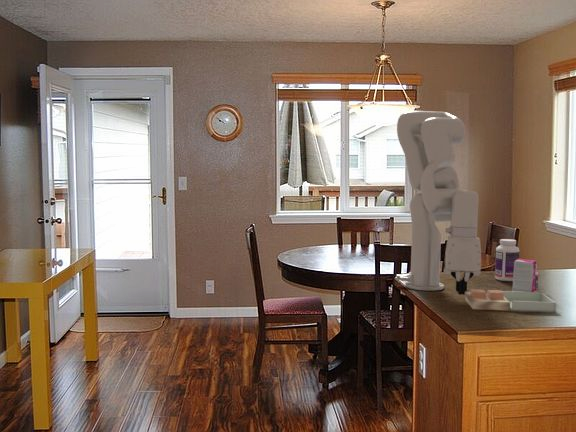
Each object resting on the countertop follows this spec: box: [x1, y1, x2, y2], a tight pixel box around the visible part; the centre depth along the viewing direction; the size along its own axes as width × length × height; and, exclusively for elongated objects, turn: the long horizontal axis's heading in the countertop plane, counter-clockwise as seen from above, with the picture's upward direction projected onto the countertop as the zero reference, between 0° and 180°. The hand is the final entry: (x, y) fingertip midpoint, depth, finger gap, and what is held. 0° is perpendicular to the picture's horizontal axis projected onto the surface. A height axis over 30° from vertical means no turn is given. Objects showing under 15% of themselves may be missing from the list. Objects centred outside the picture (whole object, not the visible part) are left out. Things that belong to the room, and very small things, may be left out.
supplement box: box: [511, 258, 537, 292], centre depth 209 cm, size 6×6×12 cm
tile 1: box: [469, 288, 487, 298], centre depth 196 cm, size 4×4×2 cm
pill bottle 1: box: [494, 238, 520, 282], centre depth 236 cm, size 8×8×14 cm
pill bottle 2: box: [534, 264, 540, 292], centre depth 217 cm, size 5×5×9 cm
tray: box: [501, 290, 557, 314], centre depth 195 cm, size 12×14×3 cm
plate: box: [465, 291, 511, 312], centre depth 196 cm, size 10×12×2 cm
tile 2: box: [486, 289, 504, 299], centre depth 196 cm, size 4×4×2 cm
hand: (461, 293), depth 197 cm, fingers closed
